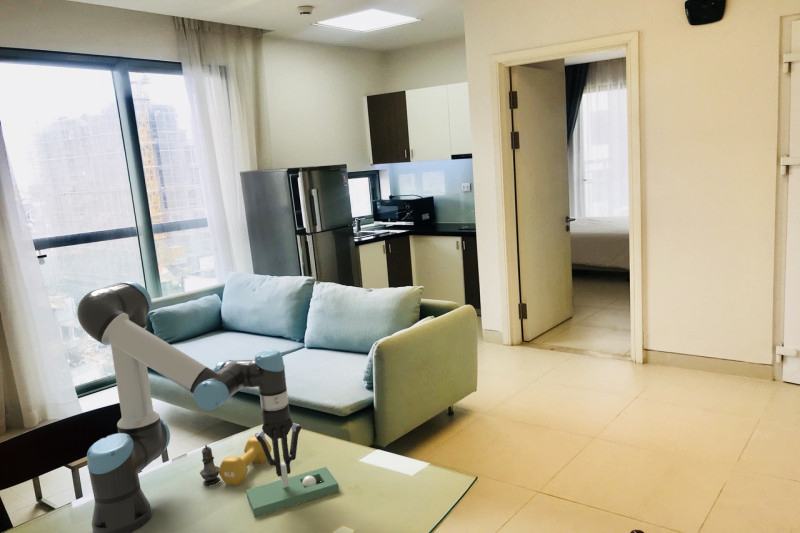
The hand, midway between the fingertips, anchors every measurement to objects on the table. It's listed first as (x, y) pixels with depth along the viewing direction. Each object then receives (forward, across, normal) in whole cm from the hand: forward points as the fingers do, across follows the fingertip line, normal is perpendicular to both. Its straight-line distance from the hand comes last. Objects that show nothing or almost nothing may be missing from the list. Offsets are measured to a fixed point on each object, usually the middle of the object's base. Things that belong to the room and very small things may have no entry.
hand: (285, 485), depth 176 cm
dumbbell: (+4, -7, +23) cm, 24 cm away
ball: (+1, +7, -1) cm, 7 cm away
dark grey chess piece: (+4, -18, +23) cm, 29 cm away
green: (+3, +2, 0) cm, 4 cm away
